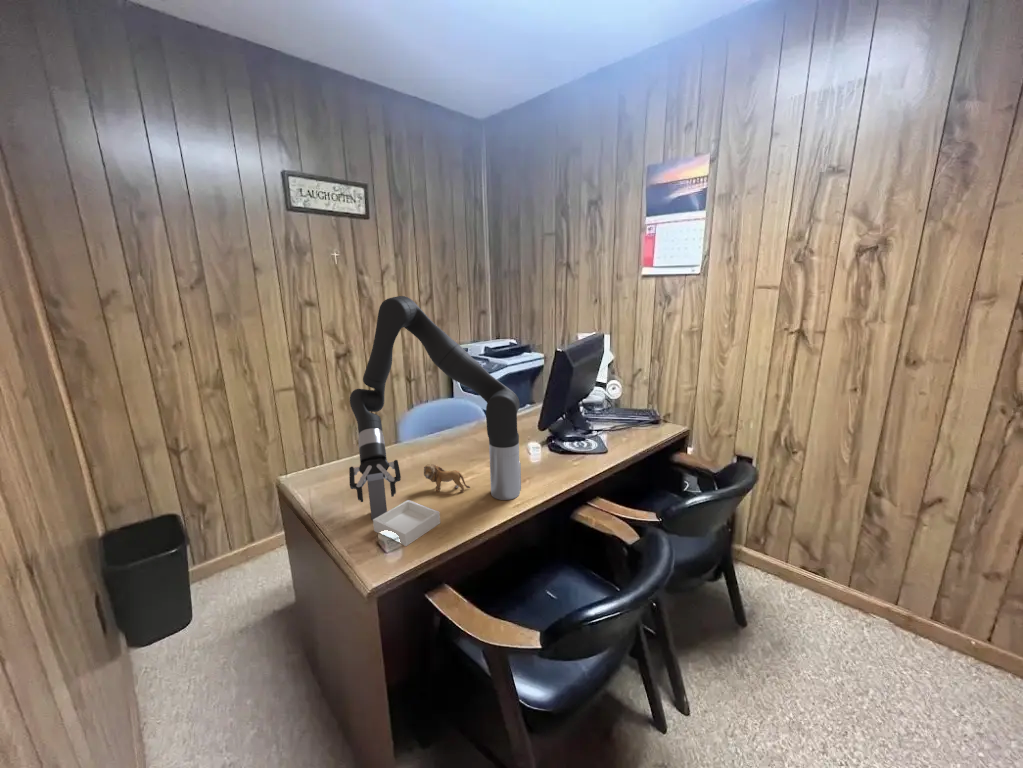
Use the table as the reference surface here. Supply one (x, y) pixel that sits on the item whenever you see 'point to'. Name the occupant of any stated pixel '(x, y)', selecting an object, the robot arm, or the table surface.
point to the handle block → (376, 495)
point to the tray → (407, 521)
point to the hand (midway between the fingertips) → (377, 498)
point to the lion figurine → (443, 476)
